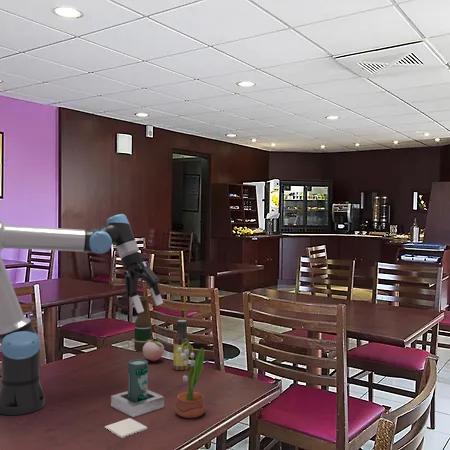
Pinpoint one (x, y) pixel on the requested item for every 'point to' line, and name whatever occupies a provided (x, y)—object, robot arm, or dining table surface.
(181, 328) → the sauce bottle
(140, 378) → the can
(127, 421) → the tile
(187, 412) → the potted flower
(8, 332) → the robot arm
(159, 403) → the collar
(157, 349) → the decorative fruit
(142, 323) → the beer bottle
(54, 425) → the dining table surface
